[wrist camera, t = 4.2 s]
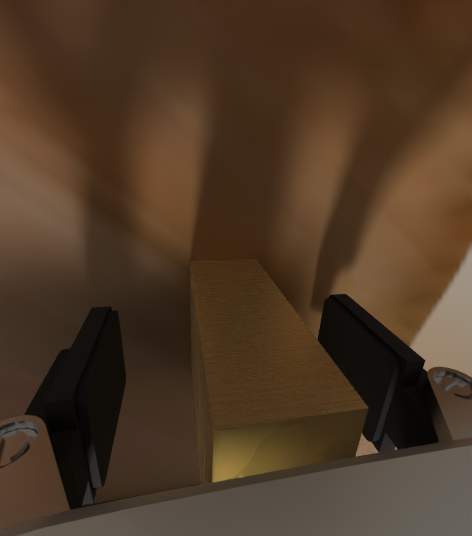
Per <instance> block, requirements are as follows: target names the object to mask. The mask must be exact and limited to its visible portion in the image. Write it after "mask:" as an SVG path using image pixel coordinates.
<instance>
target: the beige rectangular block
mask: <svg viewBox="0 0 472 536" xmlns="http://www.w3.org/2000/svg"><path fill="white" fill-rule="evenodd" d="M190 308H191V371H192V384H193V397H194V409H195V422H196V435H197V447H198V460H199V473H200V485H201V484H207V483H212V482H218V481H223V480H229V479H234V478H239V477H245V476H250V475H256V474H261V473H267V472H273V471H278V470H284V469H290V468H295V467H301V466H306V465H312V464H318V463H323V462H329V461H335V460H340V459H346V458H352V457H355V455H356V452H357V448H358V444H359V441H360V437H361V434H362V430H363V427H364V423H365V419H366V416H367V412H368V409H369V408H368V406H367V405H366V404H365V402H364V401H363V400H362V398H361V397H360V396H359V394H358V393H357V392H356V390H355V389H354V388H353V386H352V385H351V384H350V382H349V381H348V380H347V379H346V377H345V376H344V375H343V373H342V372H341V371H340V369H339V368H338V367H337V365H336V364H335V363H334V361H333V360H332V359H331V357H330V356H329V355H328V353H327V352H326V351H325V349H324V348H323V347H322V345H321V344H320V343H319V341H318V340H317V339H316V337H315V336H314V335H313V333H312V332H311V331H310V330H309V328H308V327H307V326H306V324H305V323H304V322H303V320H302V319H301V318H300V316H299V315H298V314H297V312H296V311H295V310H294V308H293V307H292V306H291V304H290V303H289V302H288V300H287V299H286V298H285V296H284V295H283V294H282V292H281V291H280V290H279V288H278V287H277V286H276V284H275V283H274V282H273V281H272V279H271V278H270V277H269V275H268V274H267V273H266V271H265V270H264V269H263V267H262V266H261V265H260V263H259V262H258V261H257V259H245V260H207V261H190Z"/></svg>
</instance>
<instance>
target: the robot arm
mask: <svg viewBox="0 0 472 536" xmlns="http://www.w3.org/2000/svg"><path fill="white" fill-rule="evenodd" d="M318 341H319V343H320V344H321V345H322V347H323V348H324V349H325V351H326V352H327V353H328V355H329V356H330V357H331V359H332V360H333V361H334V363H335V364H336V365H337V367H338V368H339V369H340V371H341V372H342V373H343V375H344V376H345V377H346V379H347V380H348V381H349V382H350V384H351V385H352V386H353V388H354V389H355V390H356V392H357V393H358V394H359V396H360V397H361V398H362V400H363V401H364V402H365V404H366V405H367V406H368V408H369V409H368V412H367V416H366V419H365V423H364V427H363V430H362V434H363V435H364V437H365V438H366V439H367V440H368V441H370V442H372V443H373V445H374V446H375V448H376V449H377V451H378V452H379V453H375V454H369V455H363V456H357V457H352V458H346V459H340V460H335V461H329V462H323V463H318V464H312V465H306V466H301V467H295V468H290V469H284V470H278V471H273V472H267V473H261V474H256V475H250V476H245V477H239V478H234V479H229V480H223V481H218V482H212V483H207V484H201V485H196V486H190V487H185V488H179V489H174V490H168V491H163V492H158V493H152V494H147V495H142V496H137V497H132V498H127V499H122V500H117V501H112V502H107V503H102V504H97V505H92V506H87V507H82V505H86V504H91V503H93V502H94V498H95V494H96V489H97V487H103V486H104V484H105V480H106V475H107V470H108V466H109V461H110V456H111V451H112V446H113V442H114V437H115V432H116V427H117V422H118V417H119V413H120V408H121V403H122V398H123V393H124V389H125V383H126V373H125V365H124V356H123V348H122V340H121V332H120V323H119V315H118V311H112V308H111V307H95V308H92V309H91V310H90V312H89V314H88V316H87V318H86V320H85V322H84V324H83V326H82V328H81V330H80V331H79V333H78V335H77V337H76V339H75V341H74V343H73V345H72V347H71V349H63V350H61V351H60V353H59V354H58V356H57V358H56V359H55V361H54V363H53V365H52V366H51V368H50V370H49V372H48V374H47V375H46V377H45V379H44V381H43V382H42V384H41V386H40V388H39V389H38V391H37V393H36V395H35V397H34V398H33V400H32V402H31V404H30V405H29V407H28V409H27V411H26V412H25V414H24V415H22V416H15V417H12V418H9V419H6V420H3V421H1V422H0V536H472V378H471V377H470V376H468V375H466V374H464V373H462V372H459V371H457V370H454V369H450V368H445V367H434V368H431V369H430V370H429V371H428V372H427V371H426V370H424V369H423V366H424V363H425V360H424V359H423V358H422V357H421V356H419V355H418V354H417V353H416V352H415V351H413V350H412V349H411V348H410V347H409V346H408V345H406V344H405V343H404V342H403V341H402V340H400V339H399V338H398V337H397V336H396V335H394V334H393V333H392V332H391V331H390V330H388V329H387V328H386V327H385V326H384V325H382V324H381V323H380V322H379V321H378V320H376V319H375V318H374V317H373V316H372V315H370V314H369V313H368V312H367V311H366V310H365V309H363V308H362V307H361V306H360V305H359V304H357V303H356V302H355V301H354V300H353V299H351V298H350V297H349V296H348V295H346V294H335V295H330V296H329V297H328V299H326V300H325V302H324V306H323V312H322V318H321V324H320V329H319V335H318ZM395 446H396V447H397V449H398V450H394V449H395ZM391 450H392V451H391ZM385 451H387V452H385ZM380 452H381V453H380Z"/></svg>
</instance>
